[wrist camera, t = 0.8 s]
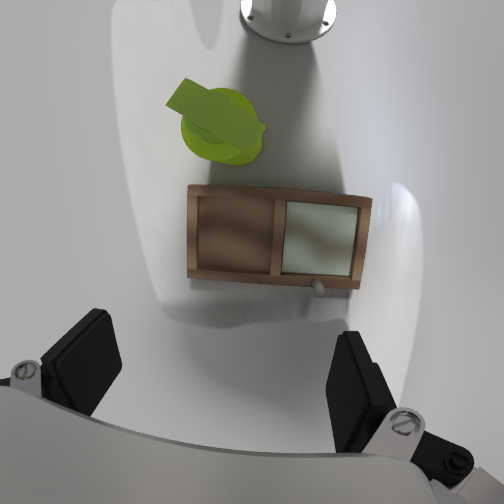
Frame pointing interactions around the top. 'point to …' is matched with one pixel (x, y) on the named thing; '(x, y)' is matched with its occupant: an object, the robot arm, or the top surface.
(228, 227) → the wooden divided tray
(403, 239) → the top surface
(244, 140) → the soap dispenser
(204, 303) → the top surface
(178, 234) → the top surface
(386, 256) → the top surface
